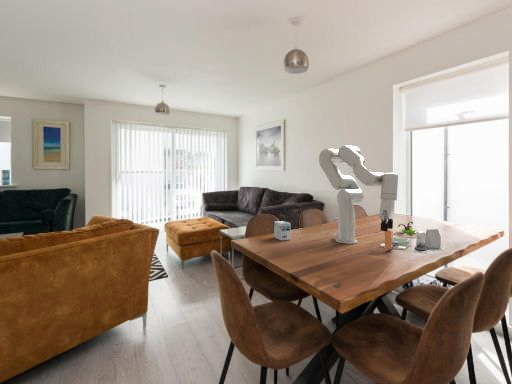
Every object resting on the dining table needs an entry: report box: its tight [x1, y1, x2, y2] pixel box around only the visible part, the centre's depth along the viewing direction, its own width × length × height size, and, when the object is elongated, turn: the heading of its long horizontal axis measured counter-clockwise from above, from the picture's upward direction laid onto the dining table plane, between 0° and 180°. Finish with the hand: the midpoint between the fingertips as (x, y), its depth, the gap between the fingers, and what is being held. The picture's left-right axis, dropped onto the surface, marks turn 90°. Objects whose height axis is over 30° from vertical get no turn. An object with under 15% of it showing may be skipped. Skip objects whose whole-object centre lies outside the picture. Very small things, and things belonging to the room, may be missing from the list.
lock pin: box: [384, 230, 395, 251], centre depth 140 cm, size 3×14×9 cm, turn 139°
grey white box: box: [425, 228, 442, 249], centre depth 144 cm, size 4×7×10 cm, turn 100°
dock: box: [379, 236, 411, 251], centre depth 147 cm, size 12×16×4 cm
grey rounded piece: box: [414, 231, 428, 251], centre depth 140 cm, size 6×6×9 cm
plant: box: [393, 220, 418, 239], centre depth 170 cm, size 20×20×11 cm
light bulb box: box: [273, 220, 292, 241], centre depth 167 cm, size 11×7×11 cm, turn 22°
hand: (386, 229), depth 136 cm, fingers open, 9 cm apart
